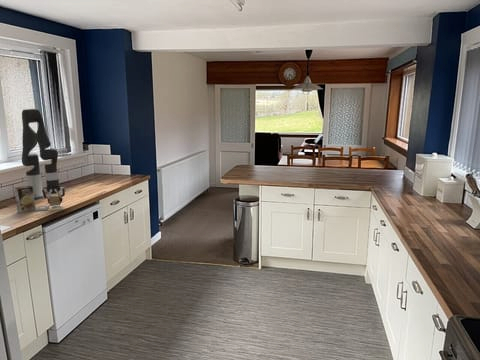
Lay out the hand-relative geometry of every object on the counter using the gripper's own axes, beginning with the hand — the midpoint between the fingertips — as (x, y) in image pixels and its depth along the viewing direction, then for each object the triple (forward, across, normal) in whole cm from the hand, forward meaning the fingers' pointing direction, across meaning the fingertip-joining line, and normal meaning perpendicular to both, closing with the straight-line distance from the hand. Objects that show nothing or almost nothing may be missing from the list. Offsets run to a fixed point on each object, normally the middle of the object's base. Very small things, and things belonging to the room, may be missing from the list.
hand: (55, 203), depth 240 cm
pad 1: (+3, +8, 0) cm, 9 cm away
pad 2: (+3, 0, 0) cm, 3 cm away
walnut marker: (+1, 0, 0) cm, 1 cm away
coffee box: (+3, +18, 0) cm, 18 cm away
